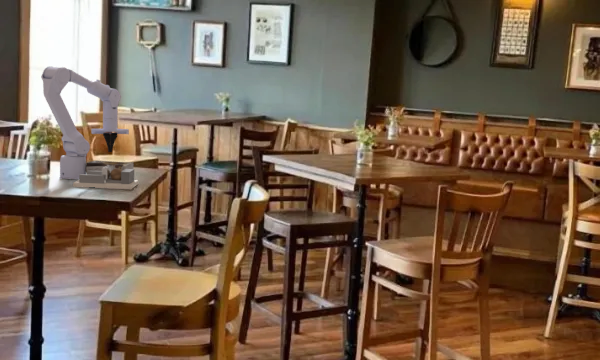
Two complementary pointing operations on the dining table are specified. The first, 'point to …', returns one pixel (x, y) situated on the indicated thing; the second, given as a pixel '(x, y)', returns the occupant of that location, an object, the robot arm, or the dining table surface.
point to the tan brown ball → (116, 174)
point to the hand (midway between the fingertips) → (110, 151)
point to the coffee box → (100, 164)
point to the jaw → (107, 171)
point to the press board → (106, 180)
